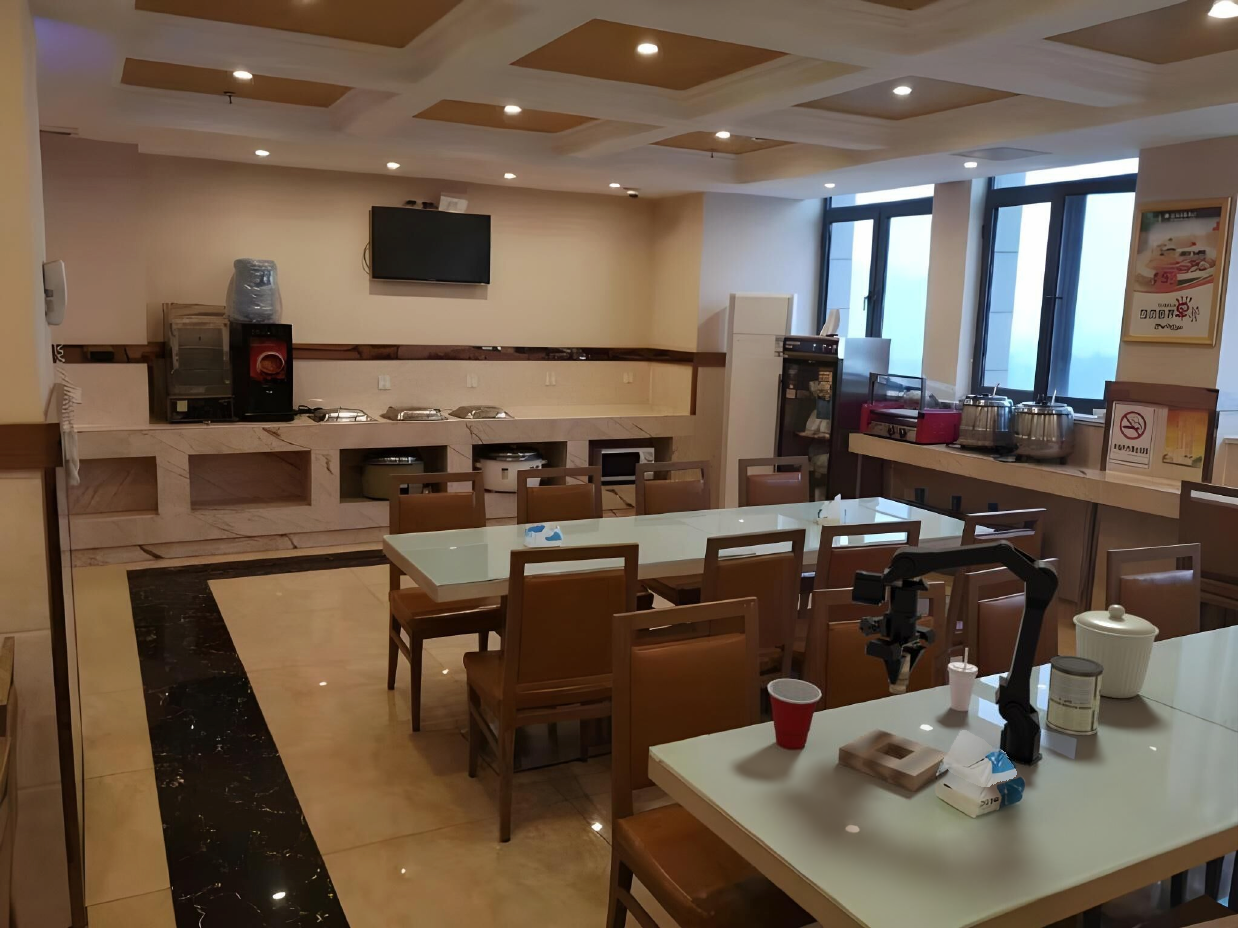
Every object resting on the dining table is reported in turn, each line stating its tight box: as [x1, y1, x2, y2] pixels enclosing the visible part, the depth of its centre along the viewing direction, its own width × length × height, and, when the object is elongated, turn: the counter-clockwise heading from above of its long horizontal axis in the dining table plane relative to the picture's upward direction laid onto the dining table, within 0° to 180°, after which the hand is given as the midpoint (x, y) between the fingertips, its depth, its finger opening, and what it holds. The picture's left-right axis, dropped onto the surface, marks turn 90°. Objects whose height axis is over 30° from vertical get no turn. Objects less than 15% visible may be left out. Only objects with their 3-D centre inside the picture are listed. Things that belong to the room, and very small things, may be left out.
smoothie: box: [947, 647, 979, 712], centre depth 216 cm, size 6×6×14 cm
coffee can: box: [1045, 655, 1104, 736], centre depth 207 cm, size 10×10×14 cm
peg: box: [887, 651, 910, 695], centre depth 199 cm, size 4×4×8 cm
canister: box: [1072, 604, 1160, 699], centre depth 228 cm, size 18×18×21 cm
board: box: [837, 728, 948, 792], centre depth 186 cm, size 16×14×3 cm
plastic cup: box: [767, 678, 822, 751], centre depth 194 cm, size 11×11×12 cm
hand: (898, 681), depth 199 cm, fingers closed on peg, 4 cm apart
